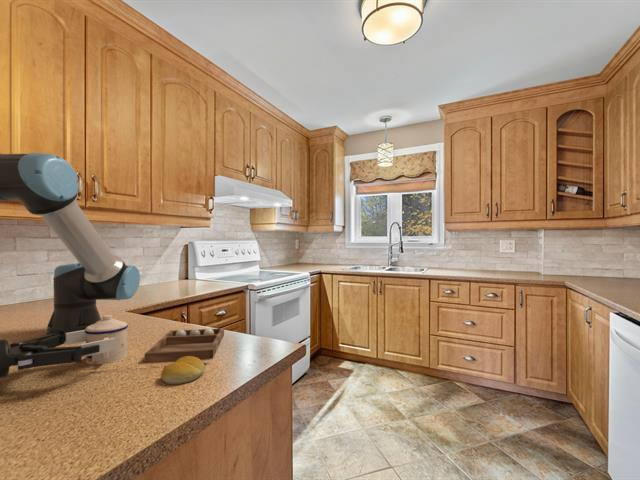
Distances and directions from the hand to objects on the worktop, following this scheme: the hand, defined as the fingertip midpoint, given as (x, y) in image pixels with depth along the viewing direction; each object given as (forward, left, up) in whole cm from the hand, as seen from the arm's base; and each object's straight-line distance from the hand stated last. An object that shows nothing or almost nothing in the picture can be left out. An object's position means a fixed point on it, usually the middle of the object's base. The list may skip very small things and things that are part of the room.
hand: (105, 338), depth 79 cm
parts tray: (-7, +18, -6) cm, 21 cm away
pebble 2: (-14, +18, -5) cm, 24 cm away
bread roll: (+11, +21, -7) cm, 24 cm away
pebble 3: (-14, +22, -5) cm, 27 cm away
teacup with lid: (0, 0, -7) cm, 7 cm away
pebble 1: (-14, +14, -5) cm, 21 cm away
